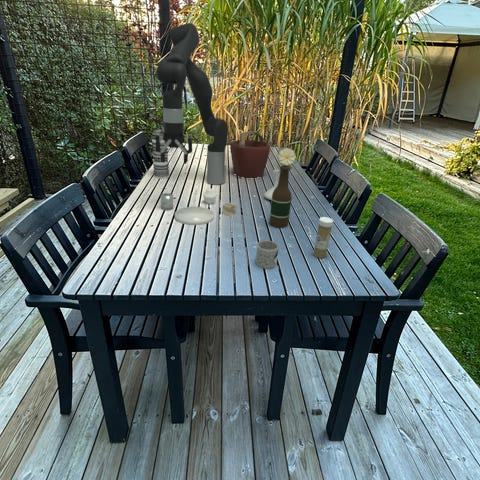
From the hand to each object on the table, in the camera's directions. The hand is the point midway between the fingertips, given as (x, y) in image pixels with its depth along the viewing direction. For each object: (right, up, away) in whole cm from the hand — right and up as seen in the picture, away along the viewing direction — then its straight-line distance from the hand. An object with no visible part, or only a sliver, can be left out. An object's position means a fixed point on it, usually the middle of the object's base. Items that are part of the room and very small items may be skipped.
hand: (174, 162), depth 137 cm
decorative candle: (-17, +4, +52) cm, 54 cm away
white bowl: (+8, -22, +2) cm, 23 cm away
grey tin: (-5, -18, +10) cm, 21 cm away
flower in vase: (+45, -12, +28) cm, 54 cm away
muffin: (+13, -15, +19) cm, 27 cm away
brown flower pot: (+31, +7, +63) cm, 71 cm away
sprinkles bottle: (+54, -37, -21) cm, 69 cm away
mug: (+35, -39, -27) cm, 58 cm away
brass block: (+22, -20, +8) cm, 31 cm away
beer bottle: (+42, -25, 0) cm, 49 cm away
